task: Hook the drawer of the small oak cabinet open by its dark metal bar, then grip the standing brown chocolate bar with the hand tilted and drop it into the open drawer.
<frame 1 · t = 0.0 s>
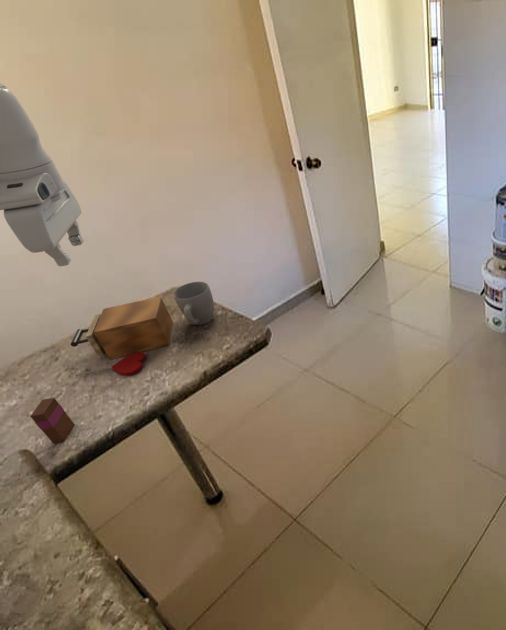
hand: (72, 253, 84), 32 cm above the countertop, tool pointing down, fingers open, 8 cm apart
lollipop: (111, 370, 105), on the countertop
drawer: (114, 332, 110), point 4 cm above the countertop, slide at 1.0 cm
chocolate: (64, 433, 89), on the countertop
mug: (202, 323, 119), on the countertop
cabinet: (143, 340, 114), on the countertop
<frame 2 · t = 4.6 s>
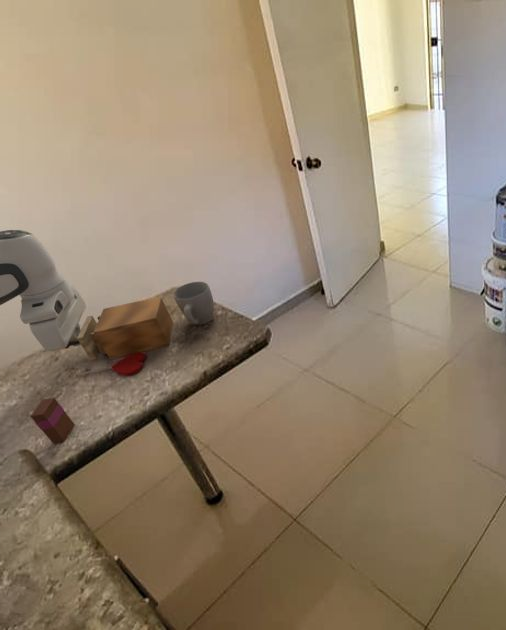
hand: (79, 342, 109), 4 cm above the countertop, tool pointing down, fingers closed
drawer: (106, 333, 110), point 4 cm above the countertop, slide at 2.8 cm, touching gripper
everything else where it was.
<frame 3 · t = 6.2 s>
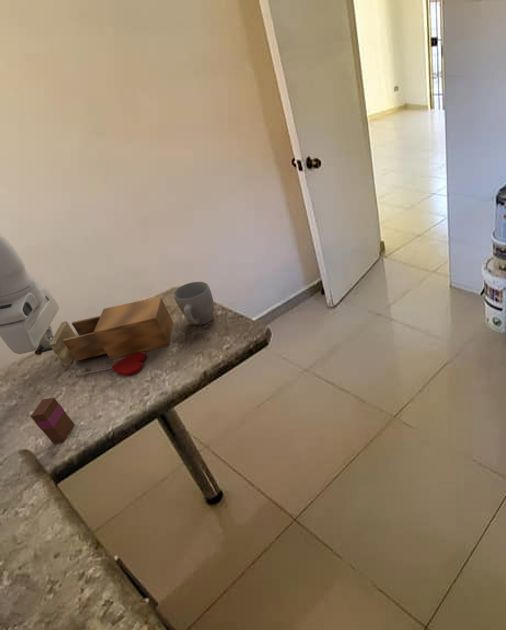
hand: (50, 345, 107), 5 cm above the countertop, tool pointing down, fingers closed
drawer: (80, 339, 108), point 4 cm above the countertop, slide at 8.5 cm
everything else where it was.
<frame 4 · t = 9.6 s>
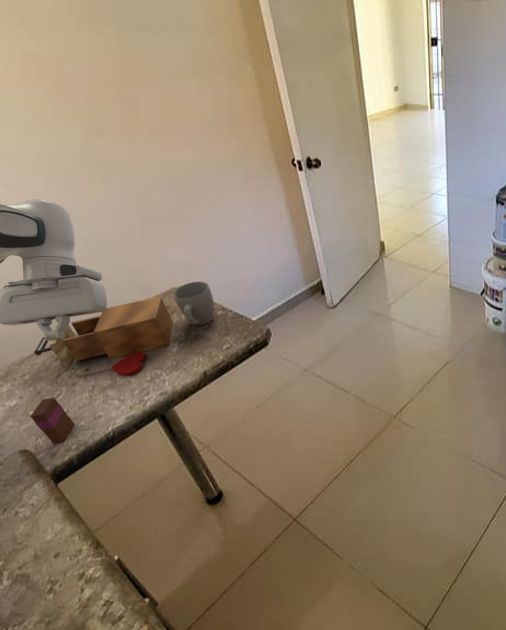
hand: (54, 339, 91), 15 cm above the countertop, tool tilted 45°, fingers closed
nothing on the countertop moved.
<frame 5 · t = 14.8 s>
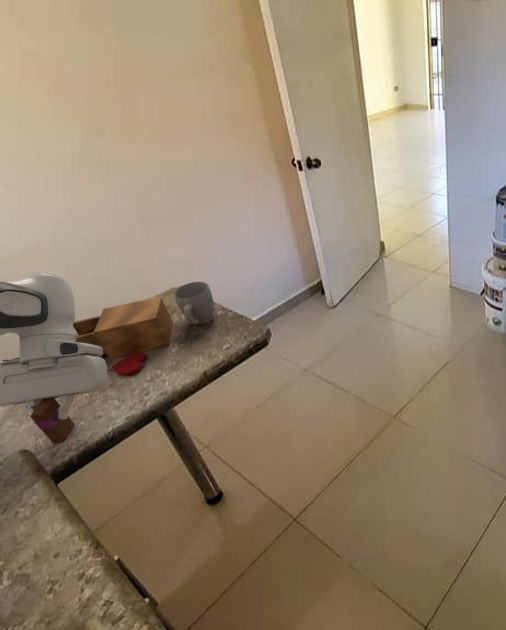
hand: (50, 421, 86), 4 cm above the countertop, tool tilted 45°, fingers closed on chocolate, 2 cm apart
chocolate: (64, 433, 89), on the countertop, touching gripper
everything else where it was.
when the fingers open (6 cm above the countertop, at t = 23.8 s): chocolate stays where it is, resting on drawer.
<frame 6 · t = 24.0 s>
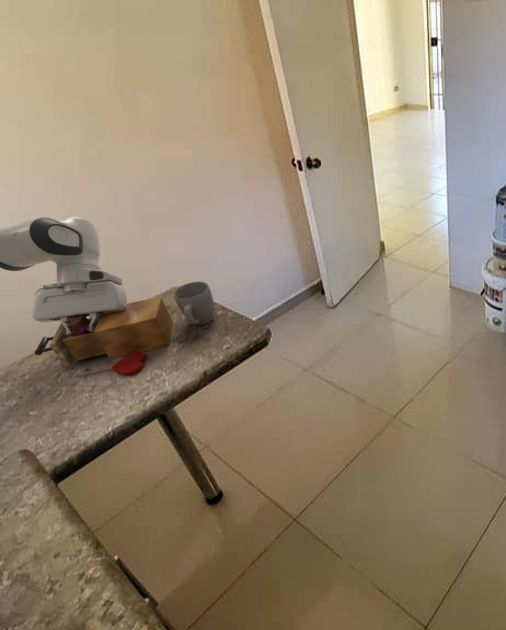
hand: (81, 334, 107), 6 cm above the countertop, tool tilted 45°, fingers open, 3 cm apart
drawer: (80, 339, 108), point 4 cm above the countertop, slide at 8.5 cm, touching chocolate
chocolate: (91, 345, 110), point 2 cm above the countertop, touching drawer
everything else where it was.
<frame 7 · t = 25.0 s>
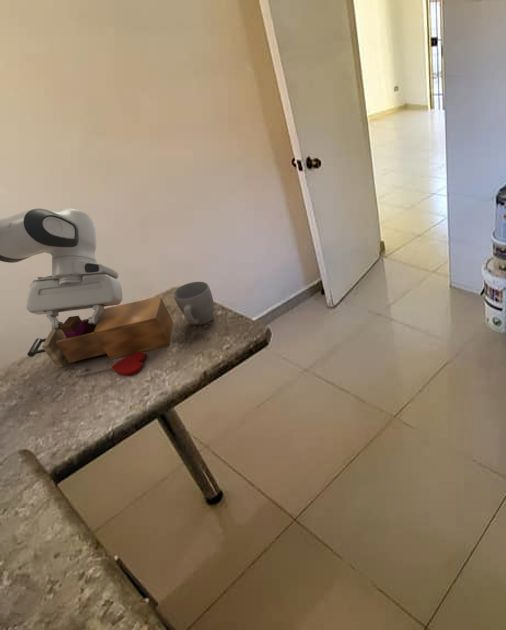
hand: (75, 326, 106), 8 cm above the countertop, tool tilted 45°, fingers open, 7 cm apart
drawer: (74, 341, 108), point 4 cm above the countertop, slide at 10.0 cm, touching chocolate
chocolate: (85, 346, 110), point 2 cm above the countertop, touching drawer
everything else where it was.
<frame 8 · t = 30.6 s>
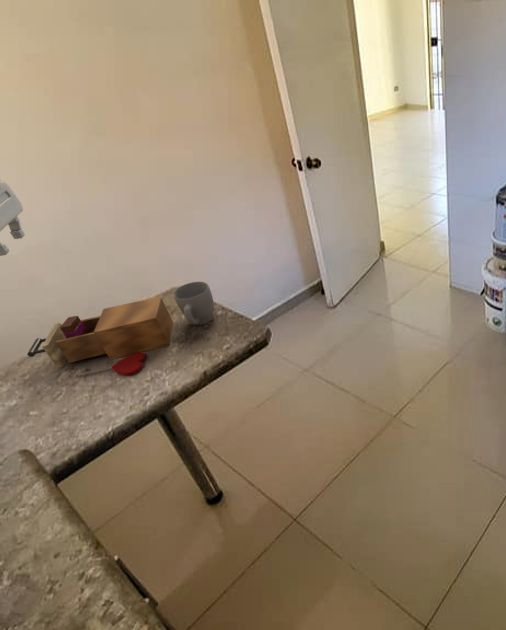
hand: (12, 245, 97), 29 cm above the countertop, tool pointing down, fingers open, 8 cm apart
nothing on the countertop moved.
at the end: drawer slide at 10.0 cm; chocolate inside the target area in the drawer (1.6 cm from its centre), point 2.0 cm above the cabinet's base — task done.
